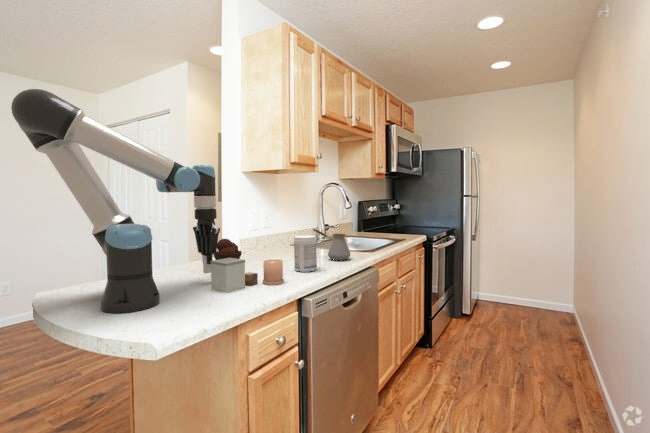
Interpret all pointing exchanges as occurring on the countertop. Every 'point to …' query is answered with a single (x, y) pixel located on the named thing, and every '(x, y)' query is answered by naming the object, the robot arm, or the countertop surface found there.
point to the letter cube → (251, 279)
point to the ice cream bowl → (227, 250)
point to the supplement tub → (305, 253)
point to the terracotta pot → (273, 272)
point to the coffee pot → (337, 247)
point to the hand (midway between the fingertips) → (207, 272)
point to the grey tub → (227, 274)
